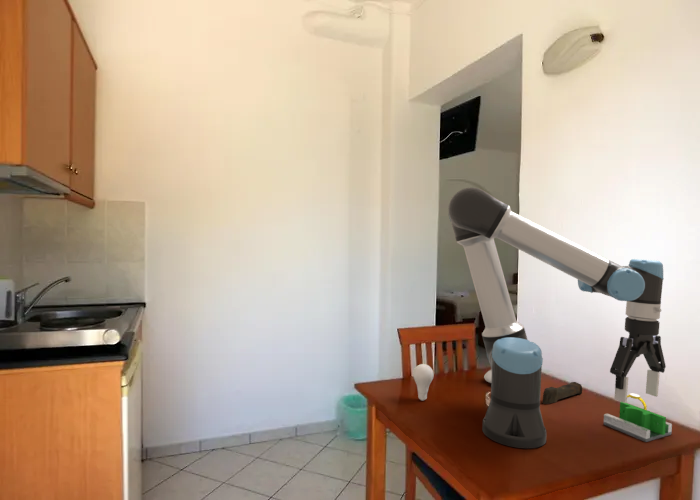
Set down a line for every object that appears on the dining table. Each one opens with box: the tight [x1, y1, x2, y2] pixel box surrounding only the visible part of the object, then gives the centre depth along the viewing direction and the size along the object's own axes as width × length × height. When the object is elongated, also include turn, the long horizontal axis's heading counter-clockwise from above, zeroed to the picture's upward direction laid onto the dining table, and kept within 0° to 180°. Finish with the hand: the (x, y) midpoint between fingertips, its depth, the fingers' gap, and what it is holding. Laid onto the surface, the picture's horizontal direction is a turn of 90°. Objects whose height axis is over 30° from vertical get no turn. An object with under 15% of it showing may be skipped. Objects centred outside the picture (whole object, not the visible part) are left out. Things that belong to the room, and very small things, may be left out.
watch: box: [627, 392, 648, 411], centre depth 126 cm, size 6×3×6 cm, turn 42°
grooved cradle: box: [603, 413, 673, 443], centre depth 116 cm, size 11×11×3 cm
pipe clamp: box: [618, 401, 667, 435], centre depth 116 cm, size 11×4×5 cm, turn 25°
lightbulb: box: [412, 363, 435, 401], centre depth 132 cm, size 6×6×11 cm
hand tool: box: [542, 381, 583, 405], centre depth 138 cm, size 19×4×5 cm, turn 122°
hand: (636, 397), depth 116 cm, fingers open, 13 cm apart
